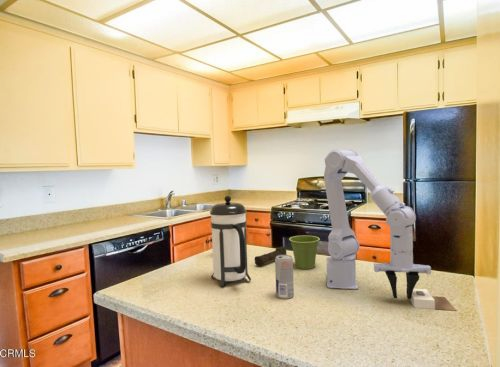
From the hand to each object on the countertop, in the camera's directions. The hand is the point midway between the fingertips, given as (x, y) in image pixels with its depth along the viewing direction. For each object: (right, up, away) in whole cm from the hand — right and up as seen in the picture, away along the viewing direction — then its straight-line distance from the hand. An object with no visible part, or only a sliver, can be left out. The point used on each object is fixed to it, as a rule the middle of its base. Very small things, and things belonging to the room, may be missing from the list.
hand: (402, 297), depth 92 cm
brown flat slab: (+10, -1, -2) cm, 10 cm away
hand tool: (-37, -4, +40) cm, 55 cm away
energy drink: (-32, -2, +7) cm, 33 cm away
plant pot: (-22, -1, +35) cm, 41 cm away
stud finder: (+5, -1, -1) cm, 5 cm away
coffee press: (-49, -2, +22) cm, 54 cm away
